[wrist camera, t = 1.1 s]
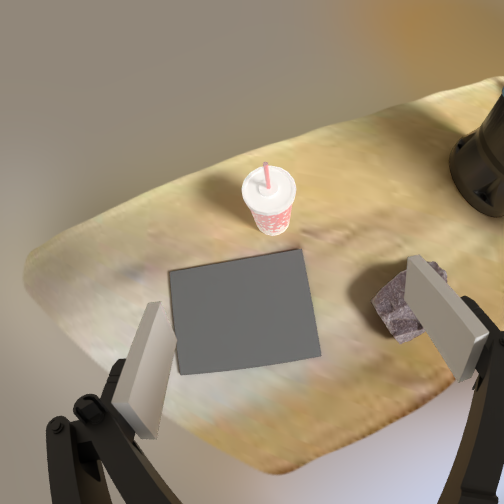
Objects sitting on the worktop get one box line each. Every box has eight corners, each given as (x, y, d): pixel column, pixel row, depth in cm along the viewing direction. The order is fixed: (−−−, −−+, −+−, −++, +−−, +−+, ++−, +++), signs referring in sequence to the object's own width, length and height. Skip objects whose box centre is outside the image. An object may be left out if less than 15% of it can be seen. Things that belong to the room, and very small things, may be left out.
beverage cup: (294, 241, 42) (296, 191, 29) (249, 240, 43) (231, 190, 29) (295, 200, 44) (296, 139, 30) (252, 200, 44) (237, 139, 31)
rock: (452, 300, 37) (468, 294, 32) (394, 352, 36) (406, 351, 32) (421, 254, 39) (434, 244, 35) (361, 302, 39) (369, 296, 34)
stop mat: (301, 250, 41) (301, 248, 41) (321, 355, 37) (321, 356, 36) (171, 273, 42) (169, 271, 42) (182, 374, 38) (180, 375, 37)
